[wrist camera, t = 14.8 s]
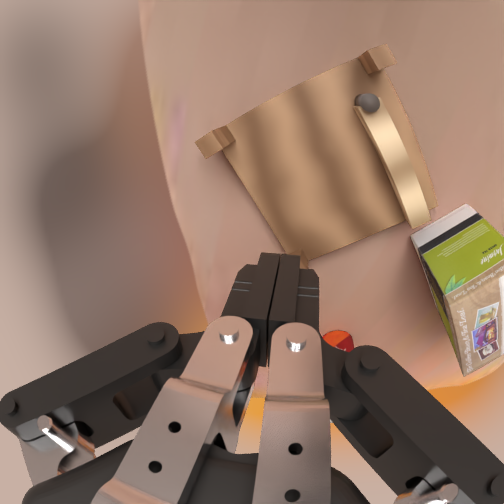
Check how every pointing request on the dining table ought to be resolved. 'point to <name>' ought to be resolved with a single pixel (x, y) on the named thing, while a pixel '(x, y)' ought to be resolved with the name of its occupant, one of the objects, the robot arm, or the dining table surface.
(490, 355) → the tea box
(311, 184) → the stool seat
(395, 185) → the tan curved wooden piece
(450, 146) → the dining table surface
